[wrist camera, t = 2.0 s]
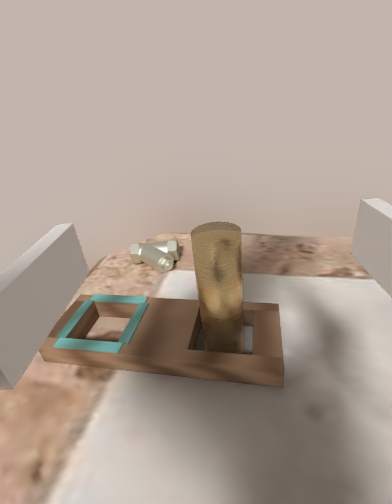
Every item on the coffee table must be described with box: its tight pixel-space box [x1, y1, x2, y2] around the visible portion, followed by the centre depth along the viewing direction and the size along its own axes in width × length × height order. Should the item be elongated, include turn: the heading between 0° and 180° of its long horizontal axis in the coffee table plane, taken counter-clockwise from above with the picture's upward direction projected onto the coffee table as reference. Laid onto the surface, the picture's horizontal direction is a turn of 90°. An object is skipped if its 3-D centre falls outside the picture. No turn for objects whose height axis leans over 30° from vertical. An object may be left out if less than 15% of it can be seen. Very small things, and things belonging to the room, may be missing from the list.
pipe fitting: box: [130, 240, 180, 273], centre depth 47 cm, size 8×4×7 cm
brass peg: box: [191, 222, 244, 354], centre depth 28 cm, size 4×4×14 cm
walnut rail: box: [39, 294, 284, 387], centre depth 32 cm, size 26×9×3 cm, turn 79°
